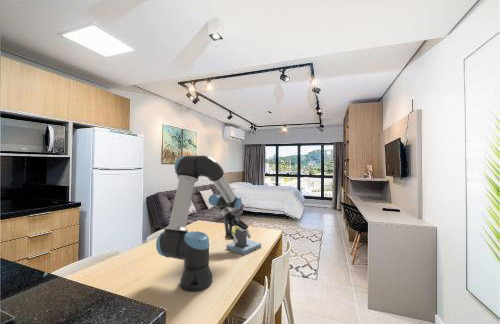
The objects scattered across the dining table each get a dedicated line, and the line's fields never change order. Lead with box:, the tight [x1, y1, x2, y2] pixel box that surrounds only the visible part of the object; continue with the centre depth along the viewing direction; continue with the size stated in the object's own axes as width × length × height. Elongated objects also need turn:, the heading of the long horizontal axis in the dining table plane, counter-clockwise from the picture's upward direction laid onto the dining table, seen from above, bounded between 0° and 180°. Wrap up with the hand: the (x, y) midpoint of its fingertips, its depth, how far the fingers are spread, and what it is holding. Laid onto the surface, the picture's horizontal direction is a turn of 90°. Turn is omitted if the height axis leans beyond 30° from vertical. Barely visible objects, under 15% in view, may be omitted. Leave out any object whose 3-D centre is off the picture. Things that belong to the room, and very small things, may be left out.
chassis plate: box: [225, 238, 262, 256], centre depth 150 cm, size 18×16×2 cm
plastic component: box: [225, 226, 242, 237], centre depth 180 cm, size 20×7×10 cm
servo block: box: [235, 228, 248, 248], centre depth 148 cm, size 4×6×14 cm
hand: (243, 240), depth 146 cm, fingers open, 13 cm apart
